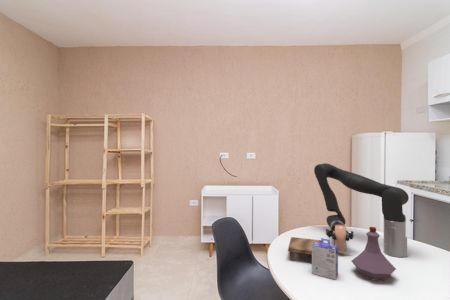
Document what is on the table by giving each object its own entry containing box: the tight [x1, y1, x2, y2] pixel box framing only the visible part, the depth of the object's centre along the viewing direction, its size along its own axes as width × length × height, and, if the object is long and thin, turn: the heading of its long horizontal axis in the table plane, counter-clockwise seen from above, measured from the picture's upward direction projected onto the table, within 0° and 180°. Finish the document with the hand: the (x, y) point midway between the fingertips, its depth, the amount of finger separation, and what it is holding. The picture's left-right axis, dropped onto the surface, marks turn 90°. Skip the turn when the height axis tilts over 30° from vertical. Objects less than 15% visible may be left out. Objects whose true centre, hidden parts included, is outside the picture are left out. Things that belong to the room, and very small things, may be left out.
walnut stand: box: [287, 236, 324, 262], centre depth 124 cm, size 16×16×6 cm
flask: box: [350, 226, 397, 281], centre depth 106 cm, size 16×16×20 cm
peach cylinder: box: [334, 225, 347, 253], centre depth 126 cm, size 5×5×12 cm
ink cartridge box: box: [311, 237, 339, 280], centre depth 106 cm, size 10×6×14 cm, turn 58°
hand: (341, 238), depth 124 cm, fingers closed on peach cylinder, 5 cm apart
